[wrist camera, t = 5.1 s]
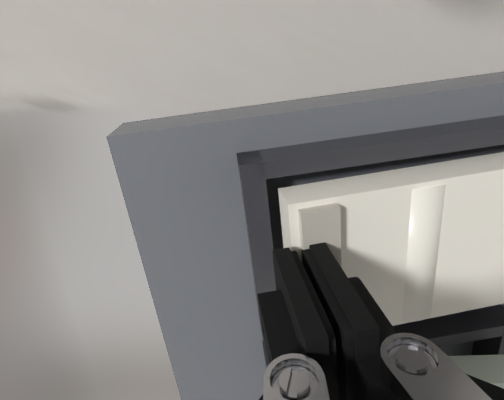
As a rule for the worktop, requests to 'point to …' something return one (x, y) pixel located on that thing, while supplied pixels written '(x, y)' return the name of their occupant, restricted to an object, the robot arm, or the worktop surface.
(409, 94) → the switch panel
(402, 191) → the rocker ivory
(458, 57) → the worktop surface
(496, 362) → the rocker sage
